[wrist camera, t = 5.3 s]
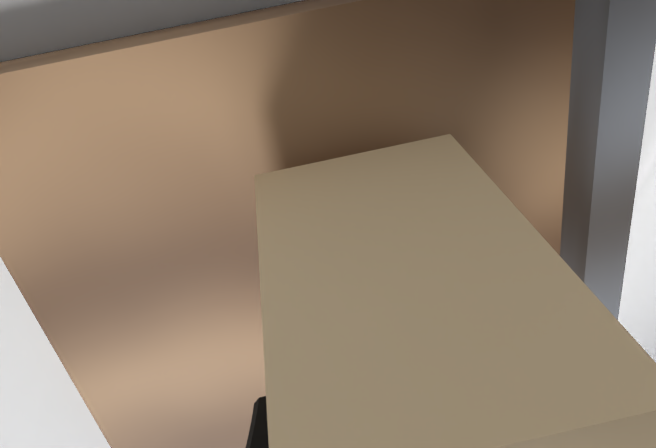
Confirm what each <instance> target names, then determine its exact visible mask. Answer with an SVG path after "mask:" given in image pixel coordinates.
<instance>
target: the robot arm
mask: <svg viewBox="0 0 656 448" xmlns="http://www.w3.org/2000/svg"><path fill="white" fill-rule="evenodd" d="M246 448H269V443H268V424H267V405H266V396H263V397H259V398H258V399H257V401H256V402H255V403H254V407H253V414H252V420H251V425H250V430H249V435H248V439H247V444H246Z"/></svg>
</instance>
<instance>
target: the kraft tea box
mask: <svg viewBox="0 0 656 448" xmlns="http://www.w3.org/2000/svg"><path fill="white" fill-rule="evenodd" d="M254 177H255V196H256V215H257V234H258V253H259V272H260V291H261V310H262V329H263V348H264V367H265V386H266V405H267V424H268V443H269V448H656V363H655V362H654V360H653V359H652V358H651V357H650V356H649V355H648V354H647V353H646V351H645V350H644V349H643V348H642V347H641V346H640V345H639V344H638V343H637V341H636V340H635V339H634V338H633V337H632V336H631V335H630V334H629V333H628V331H627V330H626V329H625V328H624V327H623V326H622V325H621V324H620V322H619V321H618V320H617V319H616V318H615V317H614V316H613V315H612V314H611V312H610V311H609V310H608V309H607V308H606V307H605V306H604V305H603V304H602V302H601V301H600V300H599V299H598V298H597V297H596V296H595V295H594V293H593V292H592V291H591V290H590V289H589V288H588V287H587V286H586V285H585V283H584V282H583V281H582V280H581V279H580V278H579V277H578V276H577V275H576V273H575V272H574V271H573V270H572V269H571V268H570V267H569V266H568V265H567V263H566V262H565V261H564V260H563V259H562V258H561V257H560V256H559V254H558V253H557V252H556V251H555V250H554V249H553V248H552V247H551V246H550V244H549V243H548V242H547V241H546V240H545V239H544V238H543V237H542V236H541V234H540V233H539V232H538V231H537V230H536V229H535V228H534V227H533V225H532V224H531V223H530V222H529V221H528V220H527V219H526V218H525V217H524V215H523V214H522V213H521V212H520V211H519V210H518V209H517V208H516V207H515V205H514V204H513V203H512V202H511V201H510V200H509V199H508V198H507V196H506V195H505V194H504V193H503V192H502V191H501V190H500V189H499V188H498V186H497V185H496V184H495V183H494V182H493V181H492V180H491V179H490V178H489V176H488V175H487V174H486V173H485V172H484V171H483V170H482V169H481V167H480V166H479V165H478V164H477V163H476V162H475V161H474V160H473V159H472V157H471V156H470V155H469V154H468V153H467V152H466V151H465V150H464V149H463V147H462V146H461V145H460V144H459V143H458V142H457V141H456V140H455V139H454V137H453V136H452V135H451V134H447V135H442V136H438V137H433V138H428V139H423V140H419V141H414V142H409V143H405V144H400V145H395V146H391V147H386V148H381V149H376V150H372V151H367V152H362V153H358V154H353V155H348V156H344V157H339V158H334V159H329V160H325V161H320V162H315V163H311V164H306V165H301V166H296V167H292V168H287V169H282V170H278V171H273V172H268V173H264V174H259V175H254Z"/></svg>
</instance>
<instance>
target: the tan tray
mask: <svg viewBox="0 0 656 448" xmlns="http://www.w3.org/2000/svg"><path fill="white" fill-rule="evenodd" d="M655 44H656V0H304V1H299V2H294V3H289V4H284V5H280V6H275V7H270V8H265V9H260V10H255V11H250V12H245V13H240V14H235V15H230V16H225V17H221V18H216V19H211V20H206V21H201V22H196V23H191V24H186V25H181V26H176V27H171V28H166V29H161V30H157V31H152V32H147V33H142V34H137V35H132V36H127V37H122V38H117V39H112V40H107V41H102V42H97V43H93V44H88V45H83V46H78V47H73V48H68V49H63V50H58V51H53V52H48V53H43V54H38V55H34V56H29V57H24V58H19V59H14V60H9V61H4V62H0V257H1V258H2V260H3V262H4V264H5V265H6V267H7V269H8V271H9V272H10V274H11V276H12V277H13V279H14V281H15V283H16V284H17V286H18V288H19V290H20V291H21V293H22V295H23V296H24V298H25V300H26V302H27V303H28V305H29V307H30V309H31V310H32V312H33V314H34V315H35V317H36V319H37V321H38V322H39V324H40V326H41V328H42V329H43V331H44V333H45V334H46V336H47V338H48V340H49V341H50V343H51V345H52V347H53V348H54V350H55V352H56V353H57V355H58V357H59V359H60V360H61V362H62V364H63V366H64V367H65V369H66V371H67V372H68V374H69V376H70V378H71V379H72V381H73V383H74V385H75V386H76V388H77V390H78V392H79V393H80V395H81V397H82V398H83V400H84V402H85V404H86V405H87V407H88V409H89V411H90V412H91V414H92V416H93V417H94V419H95V421H96V423H97V424H98V426H99V428H100V430H101V431H102V433H103V435H104V436H105V438H106V440H107V442H108V443H109V445H110V447H111V448H246V444H247V439H248V435H249V430H250V425H251V420H252V414H253V407H254V403H255V402H256V401H257V399H258V398H259V397H263V396H266V386H265V367H264V348H263V329H262V310H261V291H260V272H259V253H258V234H257V215H256V196H255V177H254V175H259V174H264V173H268V172H273V171H278V170H282V169H287V168H292V167H296V166H301V165H306V164H311V163H315V162H320V161H325V160H329V159H334V158H339V157H344V156H348V155H353V154H358V153H362V152H367V151H372V150H376V149H381V148H386V147H391V146H395V145H400V144H405V143H409V142H414V141H419V140H423V139H428V138H433V137H438V136H442V135H447V134H451V135H452V136H453V137H454V139H455V140H456V141H457V142H458V143H459V144H460V145H461V146H462V147H463V149H464V150H465V151H466V152H467V153H468V154H469V155H470V156H471V157H472V159H473V160H474V161H475V162H476V163H477V164H478V165H479V166H480V167H481V169H482V170H483V171H484V172H485V173H486V174H487V175H488V176H489V178H490V179H491V180H492V181H493V182H494V183H495V184H496V185H497V186H498V188H499V189H500V190H501V191H502V192H503V193H504V194H505V195H506V196H507V198H508V199H509V200H510V201H511V202H512V203H513V204H514V205H515V207H516V208H517V209H518V210H519V211H520V212H521V213H522V214H523V215H524V217H525V218H526V219H527V220H528V221H529V222H530V223H531V224H532V225H533V227H534V228H535V229H536V230H537V231H538V232H539V233H540V234H541V236H542V237H543V238H544V239H545V240H546V241H547V242H548V243H549V244H550V246H551V247H552V248H553V249H554V250H555V251H556V252H557V253H558V254H559V256H560V257H561V258H562V259H563V260H564V261H565V262H566V263H567V265H568V266H569V267H570V268H571V269H572V270H573V271H574V272H575V273H576V275H577V276H578V277H579V278H580V279H581V280H582V281H583V282H584V283H585V285H586V286H587V287H588V288H589V289H590V290H591V291H592V292H593V293H594V295H595V296H596V297H597V298H598V299H599V300H600V301H601V302H602V304H603V305H604V306H605V307H606V308H607V309H608V310H609V311H610V312H611V314H612V315H613V316H614V317H615V318H616V319H617V320H618V314H619V306H620V299H621V292H622V284H623V277H624V270H625V263H626V255H627V248H628V241H629V233H630V226H631V219H632V212H633V204H634V197H635V190H636V182H637V175H638V168H639V161H640V153H641V146H642V139H643V131H644V124H645V117H646V110H647V102H648V95H649V88H650V80H651V73H652V66H653V59H654V51H655Z"/></svg>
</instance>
